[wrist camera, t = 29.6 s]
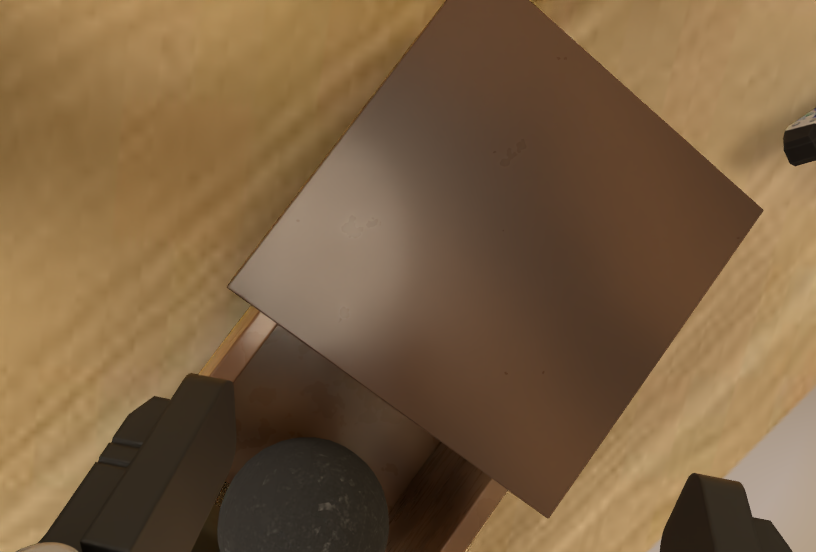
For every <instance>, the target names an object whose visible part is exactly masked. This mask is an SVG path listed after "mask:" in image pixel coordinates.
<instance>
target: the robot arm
mask: <svg viewBox="0 0 816 552" xmlns="http://www.w3.org/2000/svg"><path fill="white" fill-rule="evenodd" d="M235 450H236V418H235V397H234V385H233V382H232V381H230V380H224V379H219V378H214V377H209V376H204V375H199V374H194V373H190V374H188V375H187V376H186V377H185V378H184V380H183V381H182V383H181V384H180V386H179V388H178V389H177V391H176V392H175V394H174V395H173V397H172V398H171V399H166V398H161V397H156V396H154V397H152V398H151V399H150V400H148V401H147V402H145V403H144V404H143V405H141V406H140V407H139V408H137V409H136V410H134V411H133V412H132V413H130V414H129V415H128V416H127V418H126V419H125V421H124V422H123V424H122V425H121V426H120V428H119V429H118V431H117V432H116V434H115V435H114V437H113V439H112V442H111V443H109V444H108V445H107V447H106V448H105V449H104V451H103V452H102V454H101V455H100V457H99V461H98V462H95V464H94V465H93V467H92V468H91V470H90V471H89V473H88V474H87V475H86V477H85V478H84V480H83V481H82V483H81V484H80V486H79V487H78V488H77V490H76V491H75V493H74V494H73V496H72V497H71V499H70V500H69V501H68V503H67V504H66V506H65V507H64V509H63V510H62V511H61V513H60V514H59V516H58V517H57V519H56V520H55V522H54V523H53V524H52V526H51V527H50V529H49V530H48V532H47V533H46V534H45V535H44V537H43V538H42V539H41V540H40V541H39V542H38V543H37V544H34V545H30V546H27V547H25V548H22V549H20V550H18V551H16V552H191V551H192V548H193V546H194V544H195V542H196V540H197V538H198V536H199V534H200V532H201V530H202V528H203V526H204V524H205V522H206V520H207V518H208V515H209V513H210V511H211V509H212V507H213V505H214V503H215V501H216V499H217V497H218V495H219V493H220V491H221V489H222V487H223V485H224V482H225V480H226V478H227V476H228V474H229V472H230V469H231V466H232V463H233V459H234V455H235ZM660 552H792V550H791V549H790V547H789V546H788V544H787V543H786V542H785V540H784V539H783V537H782V536H781V535H780V533H779V532H778V531H777V529H776V528H775V527H774V525H773V524H772V522H771V521H769V520H764V519H759V518H754V517H752V514H751V510H750V506H749V503H748V499H747V496H746V492H745V489H744V487H743V485H742V484H741V483H740V482H737V481H732V480H727V479H722V478H717V477H712V476H707V475H702V474H697V473H693V474H691V475H690V476H689V478H688V479H687V481H686V483H685V485H684V488H683V490H682V492H681V494H680V496H679V498H678V500H677V502H676V505H675V507H674V509H673V511H672V513H671V515H670V517H669V519H668V521H667V524H666V526H665V528H664V531H663V534H662V539H661V545H660Z"/></svg>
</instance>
